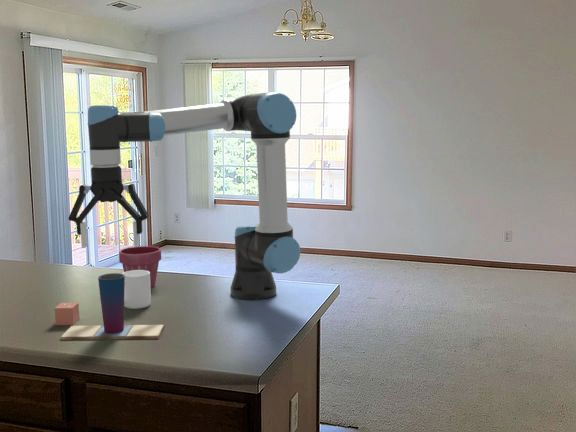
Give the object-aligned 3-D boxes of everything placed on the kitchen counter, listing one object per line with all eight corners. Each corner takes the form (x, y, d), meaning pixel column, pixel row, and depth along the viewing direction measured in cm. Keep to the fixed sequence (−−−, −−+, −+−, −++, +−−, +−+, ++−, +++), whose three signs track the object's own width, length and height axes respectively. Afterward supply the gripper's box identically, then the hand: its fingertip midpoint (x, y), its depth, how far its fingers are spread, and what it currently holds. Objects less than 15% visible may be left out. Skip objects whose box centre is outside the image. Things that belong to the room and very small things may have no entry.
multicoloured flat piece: (164, 327, 170) (164, 324, 170) (158, 338, 161) (158, 335, 161) (71, 328, 169) (71, 325, 169) (60, 339, 161) (60, 336, 160)
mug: (122, 314, 182) (121, 280, 180) (107, 308, 188) (106, 275, 186) (156, 305, 191) (155, 272, 189) (141, 299, 196) (139, 268, 195)
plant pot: (127, 280, 220) (126, 245, 218) (166, 280, 220) (165, 245, 218) (114, 291, 206) (113, 254, 204) (156, 291, 205) (155, 254, 203)
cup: (100, 335, 161) (97, 280, 159) (100, 327, 168) (98, 274, 165) (127, 333, 163) (125, 278, 161) (126, 325, 170) (124, 272, 167)
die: (79, 319, 177) (78, 302, 176) (73, 325, 172) (72, 307, 172) (62, 319, 177) (61, 302, 176) (55, 325, 172) (54, 307, 172)
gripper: (157, 164, 163) (160, 242, 166) (61, 165, 162) (67, 244, 165) (151, 166, 155) (155, 248, 159) (52, 167, 154) (58, 250, 158)
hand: (110, 246), depth 162 cm, fingers open, 13 cm apart
